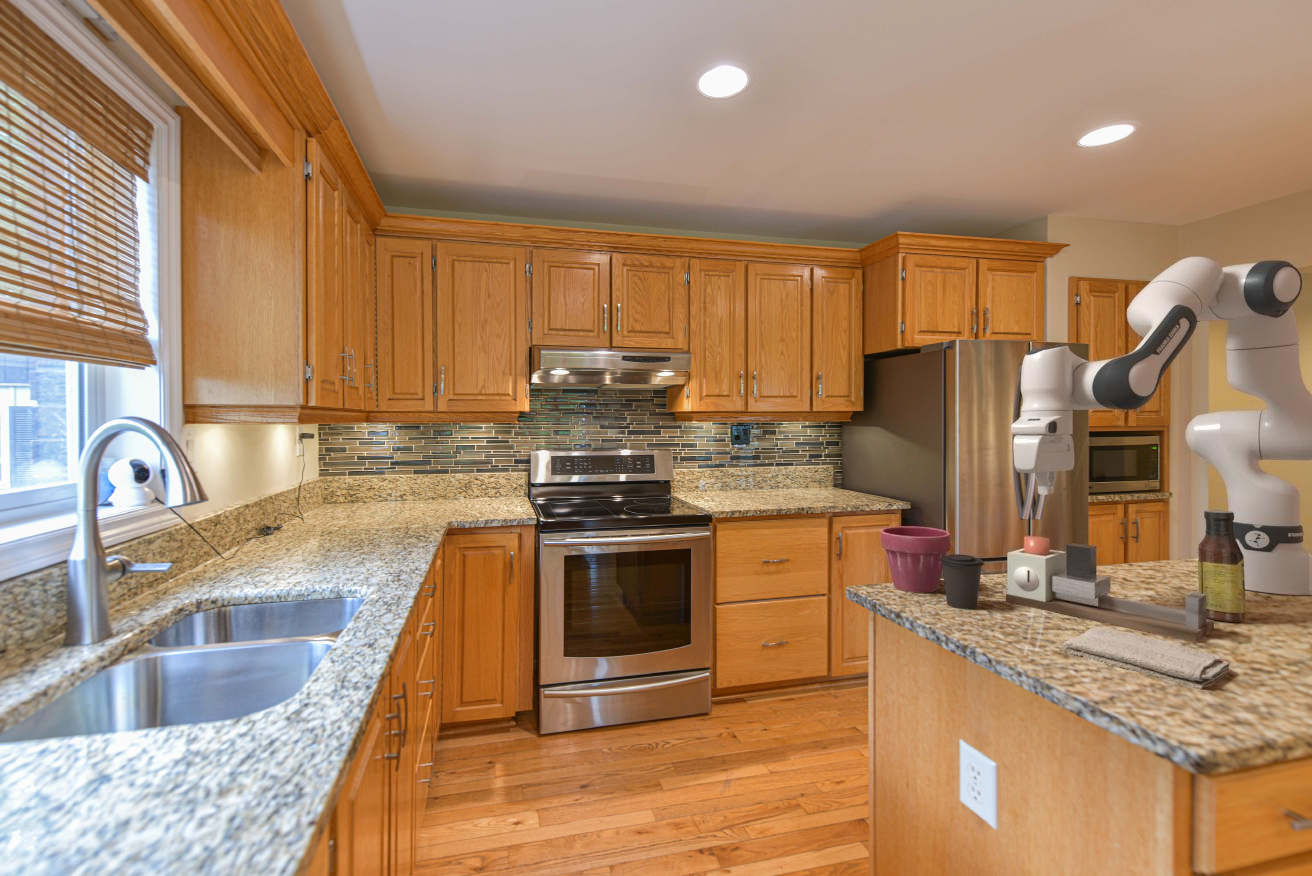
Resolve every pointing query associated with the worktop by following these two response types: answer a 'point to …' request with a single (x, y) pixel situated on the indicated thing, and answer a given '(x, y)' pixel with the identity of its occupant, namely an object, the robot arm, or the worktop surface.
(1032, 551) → the plunger
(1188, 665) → the washcloth
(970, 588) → the coffee cup
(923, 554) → the plant pot
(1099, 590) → the carriage
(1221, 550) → the sauce bottle
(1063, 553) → the gauge cabinet
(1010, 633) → the worktop surface
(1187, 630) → the rail board
